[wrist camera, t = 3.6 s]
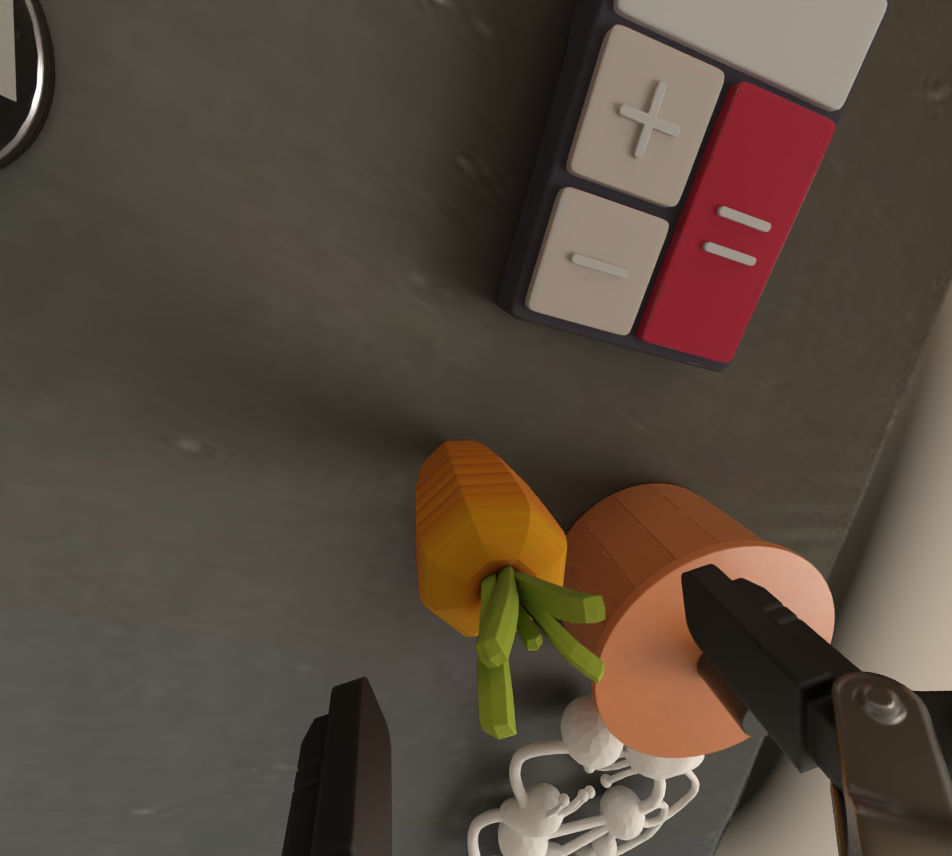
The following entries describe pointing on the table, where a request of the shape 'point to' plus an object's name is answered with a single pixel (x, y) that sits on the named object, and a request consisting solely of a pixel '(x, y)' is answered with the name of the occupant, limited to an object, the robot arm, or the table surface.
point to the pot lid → (692, 653)
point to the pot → (638, 544)
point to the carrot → (495, 570)
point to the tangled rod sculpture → (583, 794)
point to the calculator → (680, 165)
